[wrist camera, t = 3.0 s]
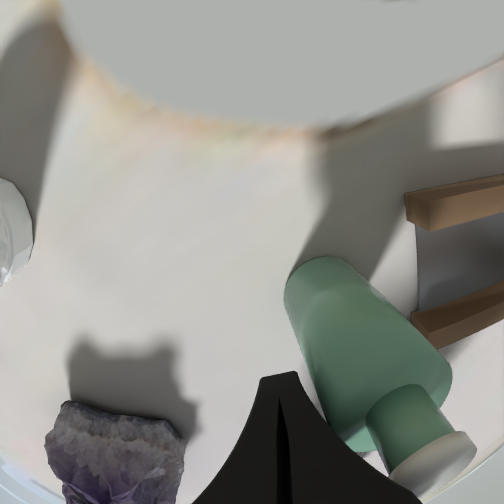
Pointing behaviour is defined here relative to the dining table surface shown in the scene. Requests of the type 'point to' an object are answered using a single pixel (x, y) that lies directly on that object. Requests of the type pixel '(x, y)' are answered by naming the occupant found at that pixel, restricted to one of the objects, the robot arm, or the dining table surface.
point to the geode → (114, 457)
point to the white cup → (13, 232)
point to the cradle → (458, 258)
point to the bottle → (375, 375)
